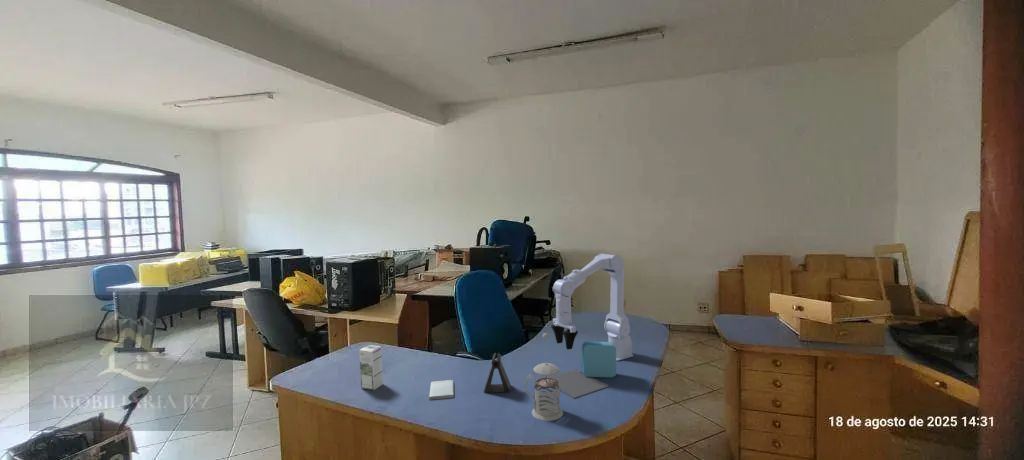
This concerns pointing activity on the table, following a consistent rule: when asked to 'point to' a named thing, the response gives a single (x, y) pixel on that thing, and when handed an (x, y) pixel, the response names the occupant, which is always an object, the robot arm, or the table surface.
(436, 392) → the hard drive
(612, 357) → the data package
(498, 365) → the phone stand
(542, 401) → the french press
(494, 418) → the table surface
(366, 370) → the syrup box
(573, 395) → the mat
